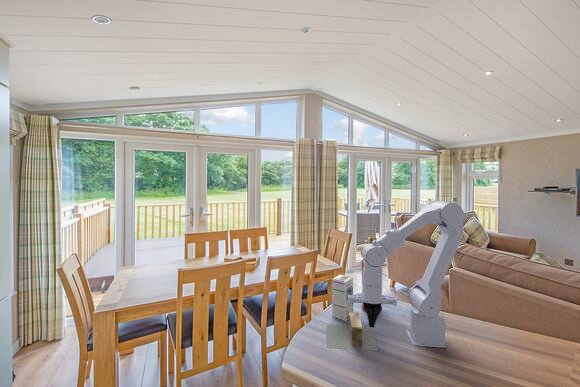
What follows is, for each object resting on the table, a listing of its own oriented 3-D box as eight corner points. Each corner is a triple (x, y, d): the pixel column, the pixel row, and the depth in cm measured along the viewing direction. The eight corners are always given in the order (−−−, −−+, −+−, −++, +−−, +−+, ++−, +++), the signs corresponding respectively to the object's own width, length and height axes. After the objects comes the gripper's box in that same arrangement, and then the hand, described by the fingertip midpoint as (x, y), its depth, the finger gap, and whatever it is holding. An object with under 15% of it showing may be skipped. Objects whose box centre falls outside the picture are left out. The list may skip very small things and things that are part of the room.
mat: (370, 328, 96) (370, 327, 96) (378, 352, 83) (378, 350, 83) (326, 325, 98) (326, 324, 98) (326, 348, 85) (326, 347, 85)
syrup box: (346, 322, 100) (346, 281, 99) (331, 317, 104) (331, 278, 103) (353, 315, 105) (353, 277, 104) (338, 311, 108) (339, 273, 107)
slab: (358, 330, 94) (358, 312, 94) (361, 346, 85) (362, 327, 85) (349, 329, 95) (349, 312, 94) (351, 346, 86) (352, 326, 85)
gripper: (393, 279, 91) (392, 320, 92) (347, 277, 93) (346, 317, 94) (399, 288, 84) (398, 332, 85) (349, 286, 86) (348, 329, 87)
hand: (371, 325), depth 89 cm, fingers closed
